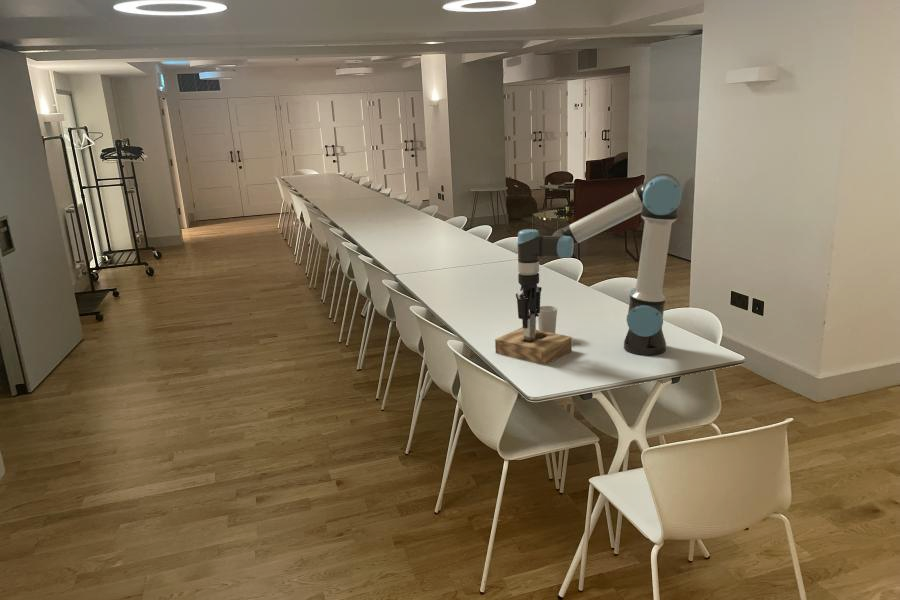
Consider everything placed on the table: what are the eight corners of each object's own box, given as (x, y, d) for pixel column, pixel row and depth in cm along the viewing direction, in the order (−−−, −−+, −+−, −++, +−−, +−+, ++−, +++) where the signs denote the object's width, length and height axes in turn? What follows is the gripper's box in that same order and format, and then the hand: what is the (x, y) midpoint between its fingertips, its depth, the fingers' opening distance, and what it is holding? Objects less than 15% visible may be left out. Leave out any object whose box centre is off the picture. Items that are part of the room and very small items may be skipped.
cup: (542, 341, 259) (541, 312, 255) (533, 335, 266) (533, 307, 263) (560, 339, 261) (560, 309, 257) (552, 333, 268) (552, 304, 265)
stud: (539, 352, 246) (538, 313, 242) (531, 355, 243) (530, 316, 239) (527, 349, 249) (527, 311, 245) (520, 353, 246) (519, 314, 242)
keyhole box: (571, 350, 247) (571, 336, 246) (545, 365, 234) (544, 350, 233) (523, 340, 261) (523, 326, 260) (495, 353, 248) (495, 339, 247)
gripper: (532, 267, 246) (533, 327, 252) (506, 276, 235) (508, 338, 241) (549, 269, 241) (550, 330, 247) (524, 278, 230) (525, 342, 236)
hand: (529, 334), depth 244 cm, fingers closed on stud, 3 cm apart
